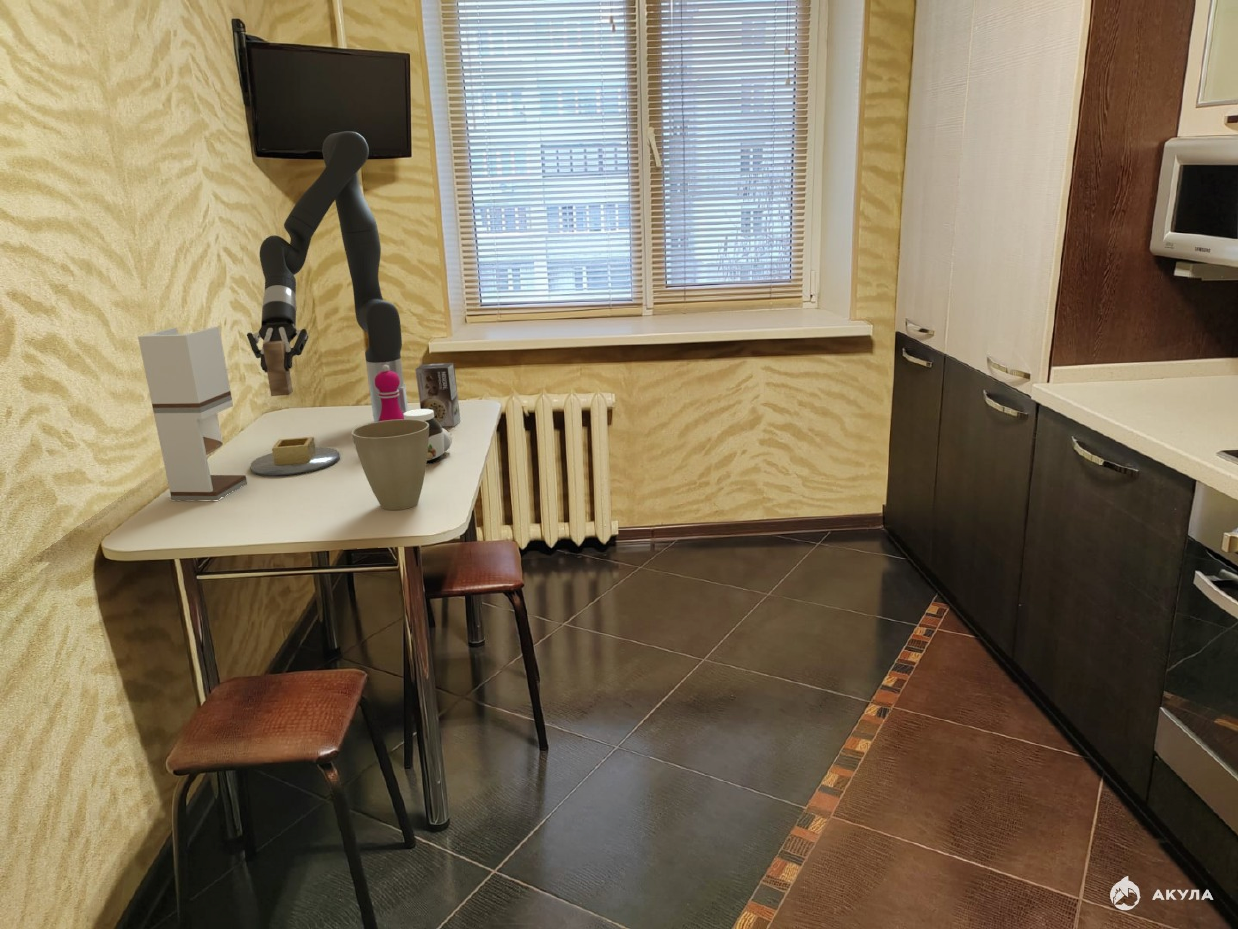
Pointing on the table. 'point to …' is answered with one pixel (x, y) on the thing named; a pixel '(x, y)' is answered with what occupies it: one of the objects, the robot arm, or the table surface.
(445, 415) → the coffee box
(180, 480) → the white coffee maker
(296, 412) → the table surface
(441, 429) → the spread jar
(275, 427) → the table surface
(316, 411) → the table surface
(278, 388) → the tall tan wooden block
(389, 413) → the pepper mill
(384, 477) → the plant pot
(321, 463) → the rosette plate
